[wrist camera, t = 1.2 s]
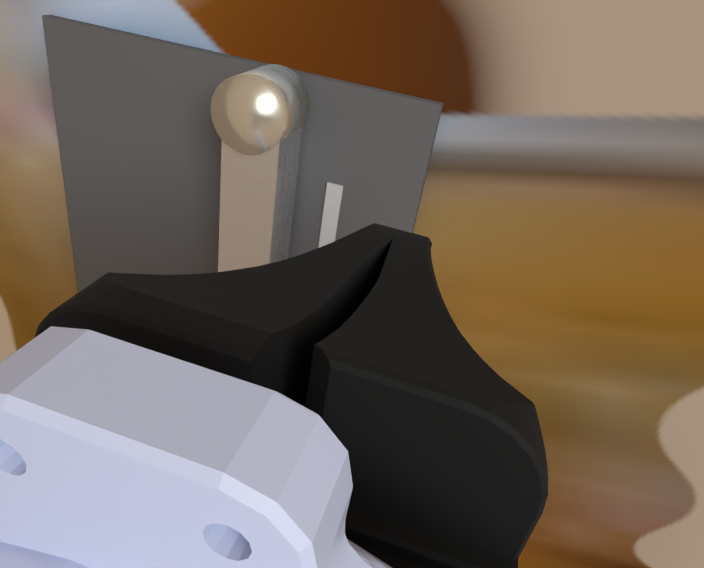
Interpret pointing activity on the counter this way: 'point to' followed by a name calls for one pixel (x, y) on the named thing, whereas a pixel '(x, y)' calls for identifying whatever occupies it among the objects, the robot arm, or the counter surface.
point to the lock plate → (211, 152)
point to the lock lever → (258, 163)
